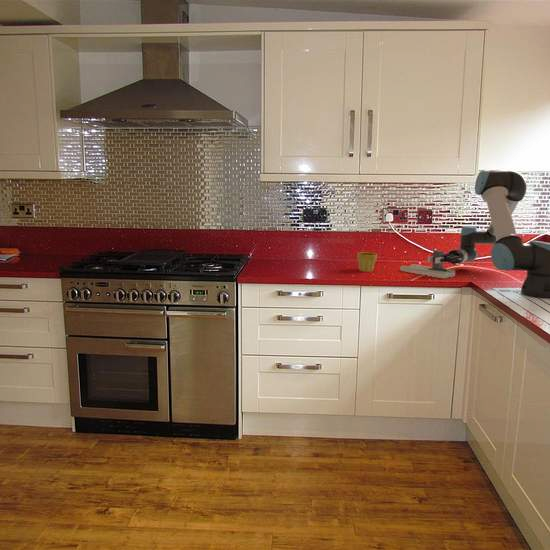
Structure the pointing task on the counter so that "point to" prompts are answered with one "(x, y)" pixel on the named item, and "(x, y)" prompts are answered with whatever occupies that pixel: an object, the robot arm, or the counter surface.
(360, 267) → the plant pot
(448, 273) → the rail
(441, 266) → the post
